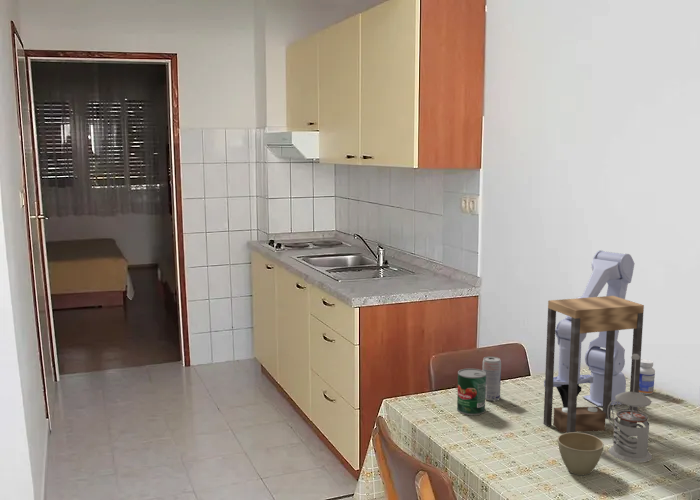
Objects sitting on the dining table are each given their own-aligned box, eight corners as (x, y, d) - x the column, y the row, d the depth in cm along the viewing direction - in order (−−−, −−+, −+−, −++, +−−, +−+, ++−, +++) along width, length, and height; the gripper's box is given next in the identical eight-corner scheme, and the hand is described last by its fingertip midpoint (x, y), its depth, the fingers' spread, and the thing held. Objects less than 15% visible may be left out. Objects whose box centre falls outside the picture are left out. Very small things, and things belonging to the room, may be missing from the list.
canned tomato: (454, 412, 192) (454, 375, 191) (460, 403, 200) (461, 367, 198) (482, 416, 189) (483, 378, 188) (487, 407, 197) (488, 370, 195)
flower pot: (549, 461, 162) (551, 432, 161) (590, 459, 163) (592, 431, 162) (566, 481, 152) (568, 451, 151) (610, 479, 153) (611, 449, 152)
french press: (632, 465, 160) (638, 362, 156) (593, 447, 170) (598, 349, 166) (661, 457, 164) (667, 356, 161) (621, 439, 174) (627, 344, 171)
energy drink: (499, 395, 206) (500, 356, 205) (501, 401, 201) (502, 361, 199) (481, 394, 207) (481, 356, 205) (482, 400, 202) (483, 361, 200)
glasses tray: (596, 424, 185) (597, 404, 184) (604, 431, 180) (605, 411, 179) (553, 425, 184) (554, 406, 183) (560, 433, 179) (560, 413, 178)
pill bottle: (632, 388, 212) (634, 358, 210) (650, 389, 211) (652, 358, 209) (637, 394, 206) (638, 363, 205) (655, 395, 206) (657, 364, 204)
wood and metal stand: (606, 415, 190) (613, 295, 185) (636, 432, 178) (643, 305, 174) (543, 424, 184) (548, 300, 179) (569, 442, 173) (575, 310, 168)
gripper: (583, 356, 194) (581, 402, 196) (538, 361, 190) (536, 407, 192) (599, 363, 188) (596, 410, 190) (553, 368, 184) (551, 417, 186)
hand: (567, 409), depth 191 cm, fingers closed
